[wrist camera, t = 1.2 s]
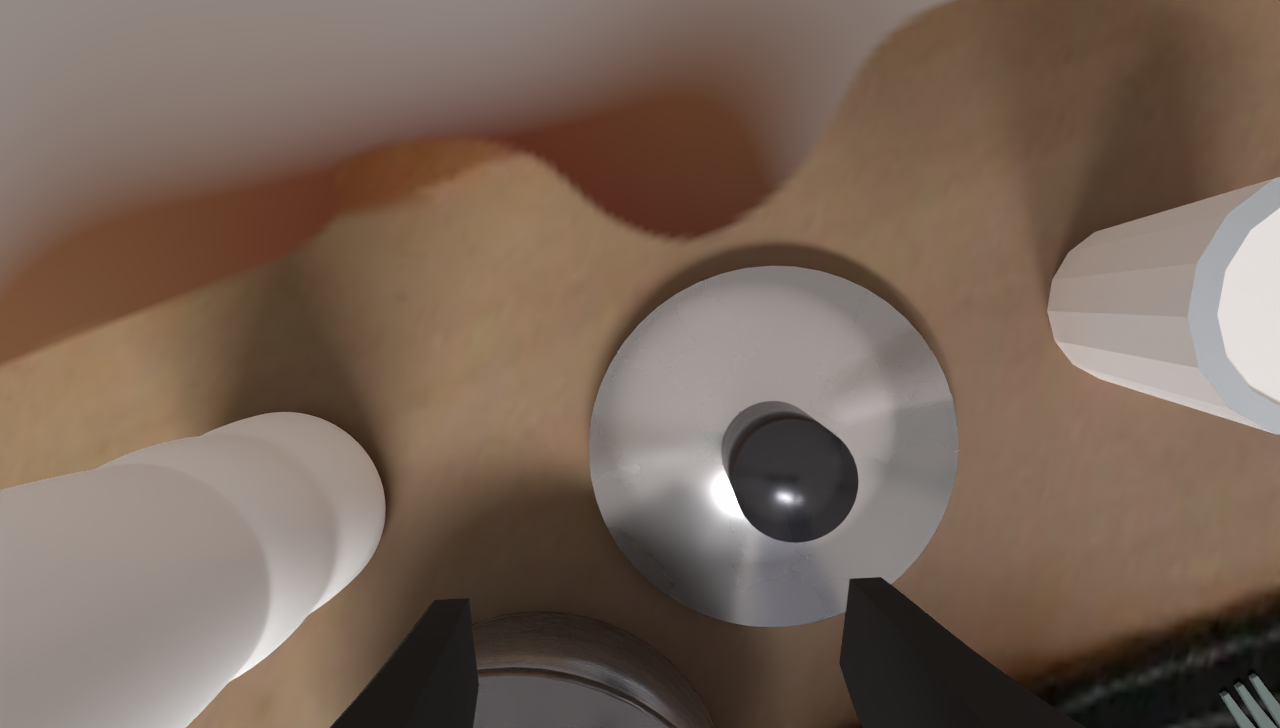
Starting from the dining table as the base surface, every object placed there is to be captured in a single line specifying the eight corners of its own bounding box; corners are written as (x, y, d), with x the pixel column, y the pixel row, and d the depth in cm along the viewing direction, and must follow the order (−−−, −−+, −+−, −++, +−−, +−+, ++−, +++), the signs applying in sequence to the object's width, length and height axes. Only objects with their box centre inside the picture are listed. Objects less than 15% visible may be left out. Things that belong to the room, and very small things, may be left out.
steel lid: (986, 314, 23) (1080, 318, 18) (889, 646, 25) (950, 738, 19) (637, 230, 23) (631, 209, 18) (558, 566, 25) (531, 636, 19)
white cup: (1123, 162, 22) (1335, 99, 15) (1269, 289, 23) (1541, 283, 16) (988, 316, 23) (1132, 322, 16) (1131, 437, 23) (1334, 495, 16)
